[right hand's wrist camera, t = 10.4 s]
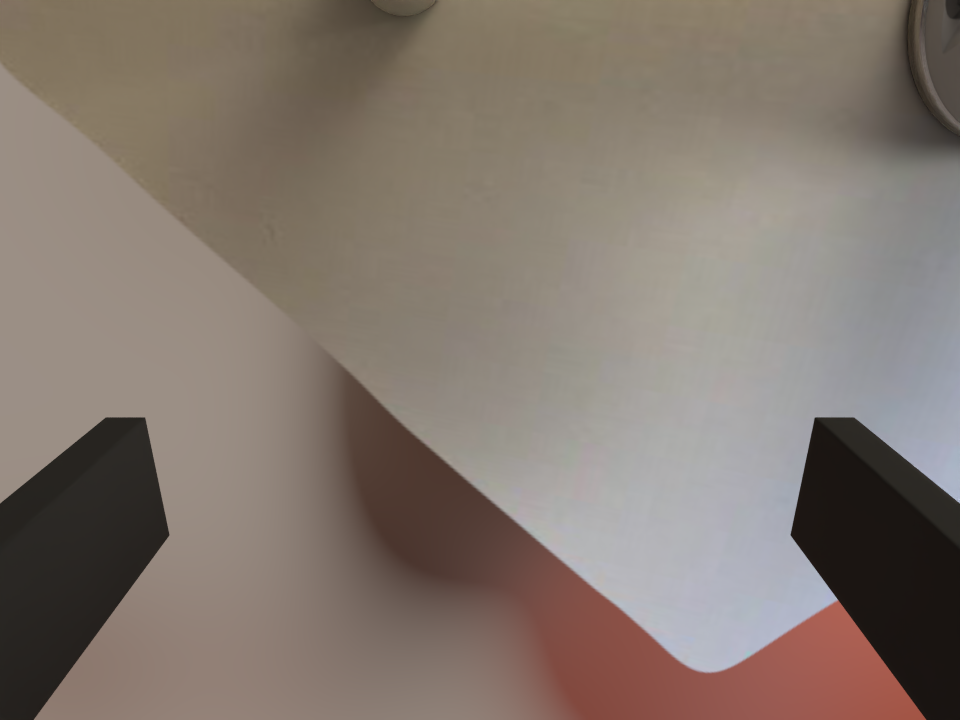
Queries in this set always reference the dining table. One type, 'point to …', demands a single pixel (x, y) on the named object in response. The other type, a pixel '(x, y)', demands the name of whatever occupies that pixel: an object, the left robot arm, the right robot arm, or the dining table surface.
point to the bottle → (403, 6)
